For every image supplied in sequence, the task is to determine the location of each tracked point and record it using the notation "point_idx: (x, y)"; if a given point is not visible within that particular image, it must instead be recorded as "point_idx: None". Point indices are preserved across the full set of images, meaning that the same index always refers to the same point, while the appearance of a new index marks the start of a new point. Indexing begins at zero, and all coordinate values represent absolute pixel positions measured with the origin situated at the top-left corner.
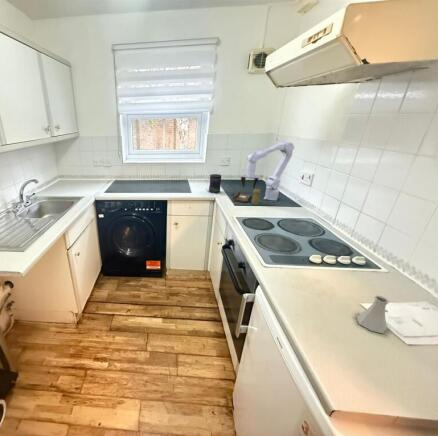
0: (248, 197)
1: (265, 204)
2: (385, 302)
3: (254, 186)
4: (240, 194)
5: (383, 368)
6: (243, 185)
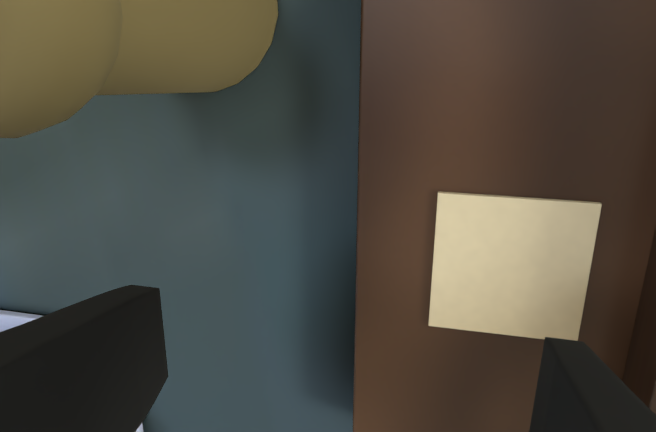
0: (370, 253)
1: None
2: None
3: (67, 309)
4: None
5: None
6: (578, 370)
